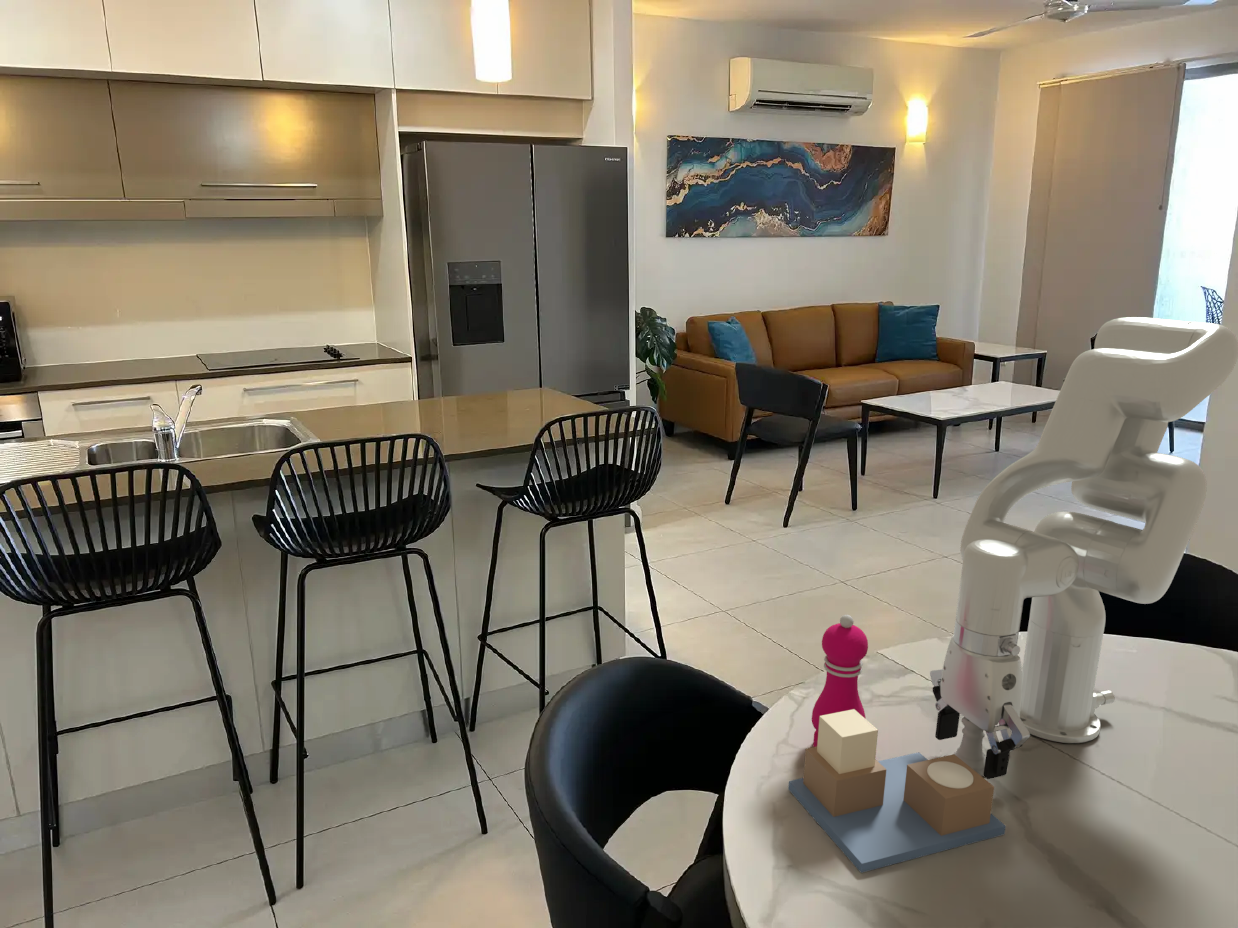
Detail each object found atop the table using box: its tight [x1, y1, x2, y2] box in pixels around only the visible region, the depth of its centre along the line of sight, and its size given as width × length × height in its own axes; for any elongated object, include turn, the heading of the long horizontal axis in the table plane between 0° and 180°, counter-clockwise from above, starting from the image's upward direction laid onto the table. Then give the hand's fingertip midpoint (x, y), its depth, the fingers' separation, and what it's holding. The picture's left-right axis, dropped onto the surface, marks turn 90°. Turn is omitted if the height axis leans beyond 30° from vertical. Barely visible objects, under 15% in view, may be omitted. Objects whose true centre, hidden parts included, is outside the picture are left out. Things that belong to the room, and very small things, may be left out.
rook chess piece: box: [953, 716, 986, 777], centre depth 116 cm, size 4×4×8 cm
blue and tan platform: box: [787, 709, 1006, 874], centre depth 107 cm, size 20×16×11 cm
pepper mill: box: [811, 614, 869, 747], centre depth 119 cm, size 7×7×20 cm
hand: (969, 755), depth 117 cm, fingers open, 8 cm apart
